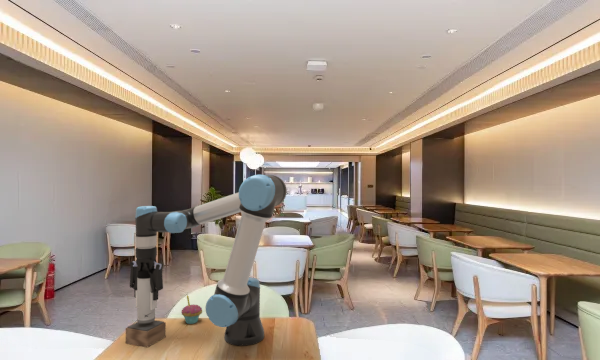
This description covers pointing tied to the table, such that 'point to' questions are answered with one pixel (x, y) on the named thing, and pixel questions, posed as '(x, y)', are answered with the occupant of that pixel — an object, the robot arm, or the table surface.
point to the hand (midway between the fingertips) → (146, 307)
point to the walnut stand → (145, 333)
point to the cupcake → (191, 312)
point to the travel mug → (144, 297)
